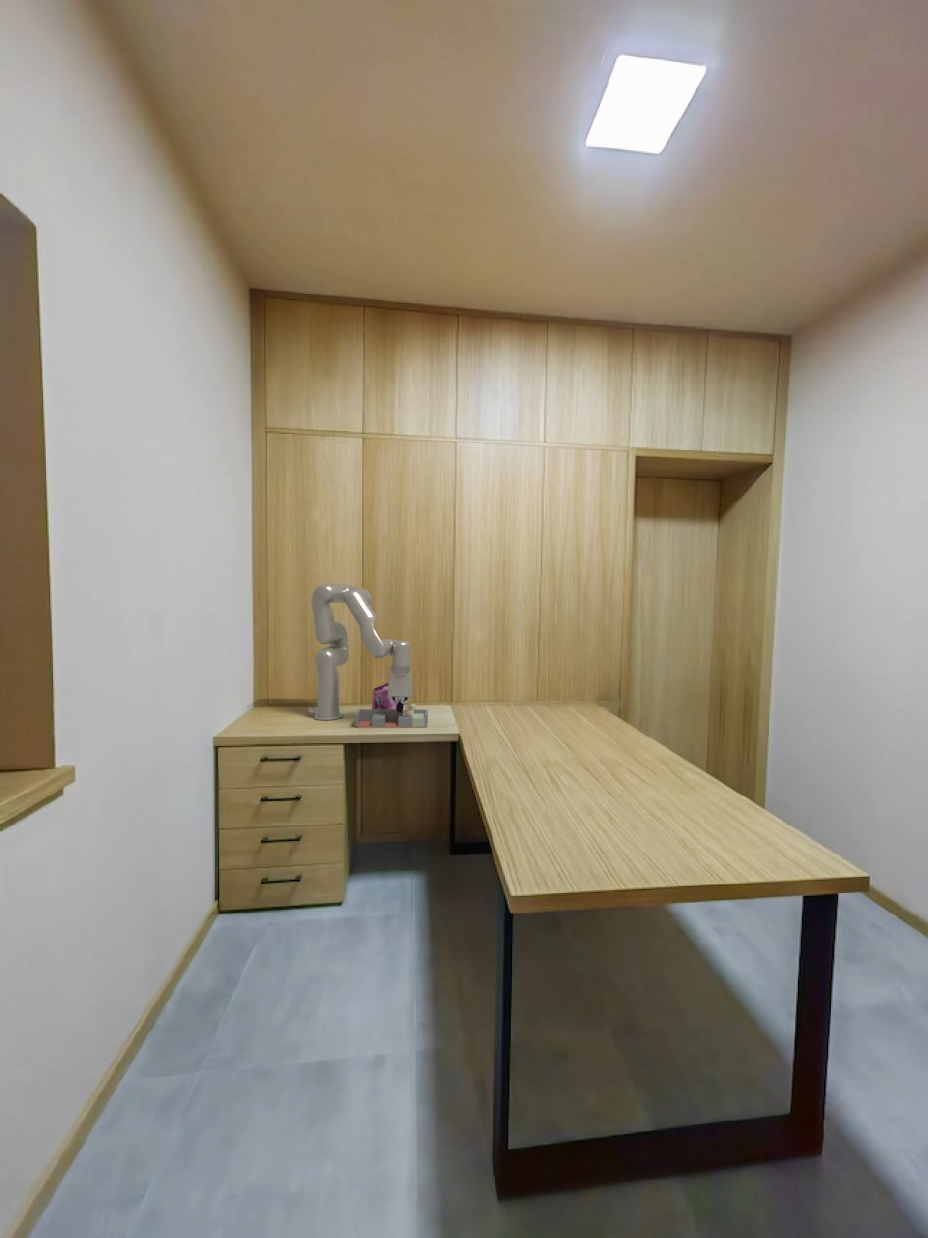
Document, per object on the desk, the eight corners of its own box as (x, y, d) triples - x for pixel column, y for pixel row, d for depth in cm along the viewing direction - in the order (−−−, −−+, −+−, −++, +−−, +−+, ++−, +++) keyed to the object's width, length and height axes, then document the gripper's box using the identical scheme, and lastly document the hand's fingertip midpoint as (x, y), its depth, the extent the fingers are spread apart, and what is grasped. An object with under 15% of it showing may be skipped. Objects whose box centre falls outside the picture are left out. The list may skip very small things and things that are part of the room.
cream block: (402, 715, 208) (403, 705, 207) (403, 713, 212) (404, 702, 212) (413, 717, 208) (414, 706, 207) (413, 714, 212) (414, 704, 212)
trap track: (355, 727, 205) (355, 714, 204) (359, 721, 214) (359, 709, 213) (426, 727, 206) (427, 714, 206) (427, 721, 215) (427, 709, 215)
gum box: (386, 721, 215) (386, 691, 214) (370, 720, 217) (370, 689, 216) (407, 708, 238) (407, 681, 237) (392, 707, 240) (392, 680, 239)
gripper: (382, 670, 204) (381, 714, 206) (417, 672, 205) (416, 715, 206) (384, 667, 212) (383, 709, 213) (419, 668, 212) (417, 710, 214)
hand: (399, 712), depth 210 cm, fingers closed
